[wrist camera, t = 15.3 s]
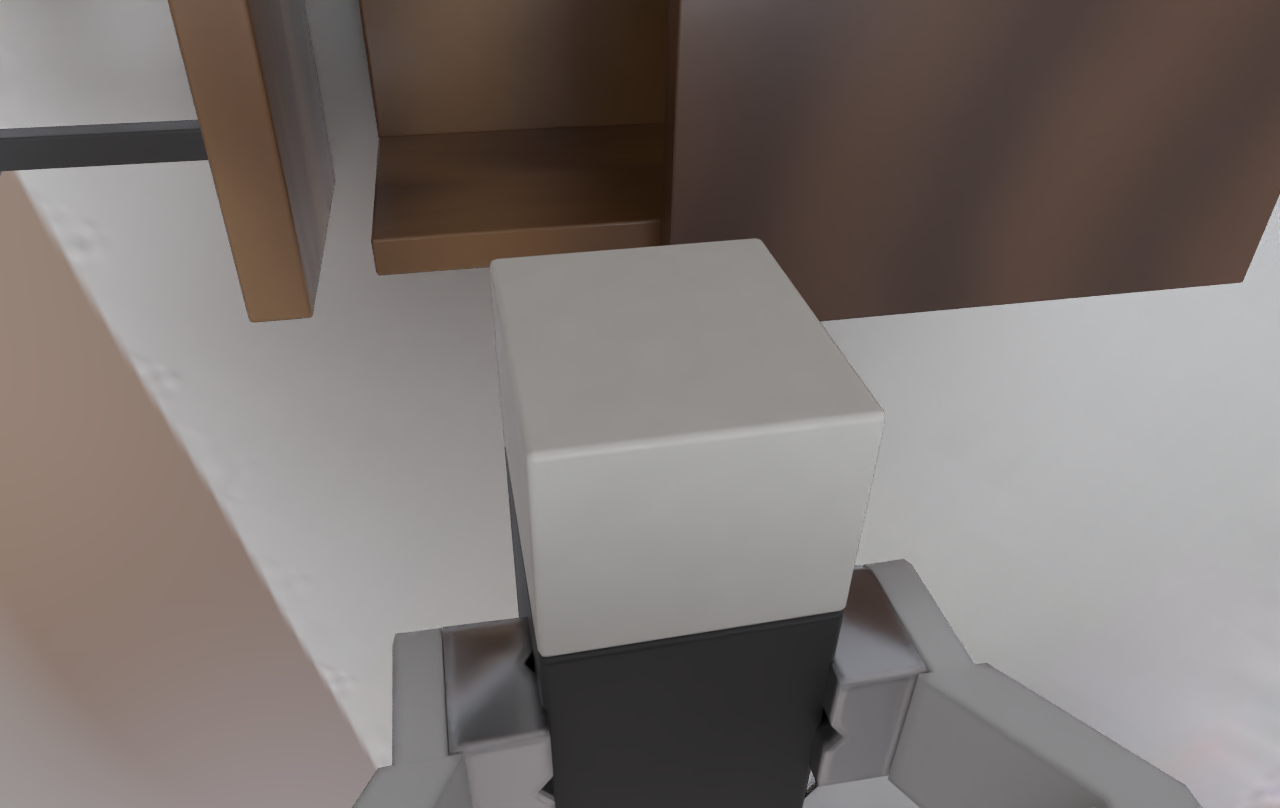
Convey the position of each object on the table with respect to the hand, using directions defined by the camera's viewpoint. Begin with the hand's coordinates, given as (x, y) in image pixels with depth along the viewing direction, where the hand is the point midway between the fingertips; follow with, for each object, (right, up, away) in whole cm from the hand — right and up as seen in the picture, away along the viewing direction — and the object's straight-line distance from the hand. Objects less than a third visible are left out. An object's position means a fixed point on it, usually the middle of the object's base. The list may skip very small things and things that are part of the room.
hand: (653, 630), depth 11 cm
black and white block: (0, +1, +1) cm, 2 cm away
